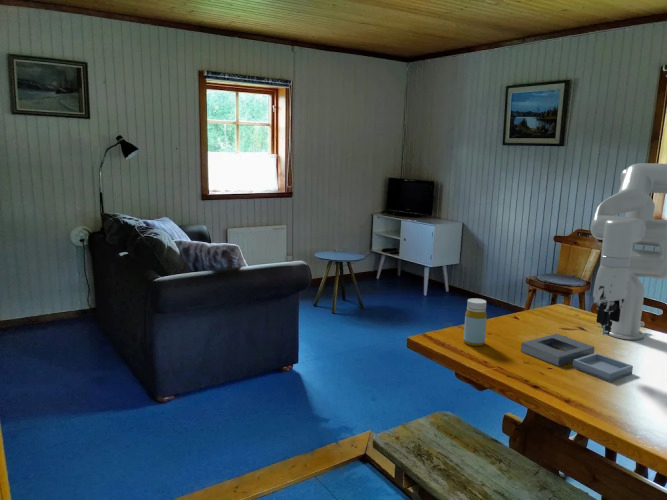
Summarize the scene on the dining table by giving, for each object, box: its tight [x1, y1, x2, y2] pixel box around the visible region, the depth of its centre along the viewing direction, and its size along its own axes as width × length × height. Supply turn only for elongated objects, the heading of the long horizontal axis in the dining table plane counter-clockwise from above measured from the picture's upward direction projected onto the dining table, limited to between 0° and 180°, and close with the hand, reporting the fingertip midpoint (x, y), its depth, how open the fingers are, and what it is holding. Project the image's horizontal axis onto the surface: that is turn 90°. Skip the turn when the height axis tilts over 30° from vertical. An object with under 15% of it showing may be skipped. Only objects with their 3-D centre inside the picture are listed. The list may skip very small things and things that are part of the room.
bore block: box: [520, 333, 595, 367], centre depth 169 cm, size 18×14×3 cm
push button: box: [600, 298, 617, 337], centre depth 154 cm, size 7×5×10 cm
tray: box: [572, 352, 634, 383], centre depth 156 cm, size 12×12×2 cm
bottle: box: [463, 297, 488, 347], centre depth 176 cm, size 7×7×15 cm
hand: (607, 321), depth 154 cm, fingers closed on push button, 5 cm apart
